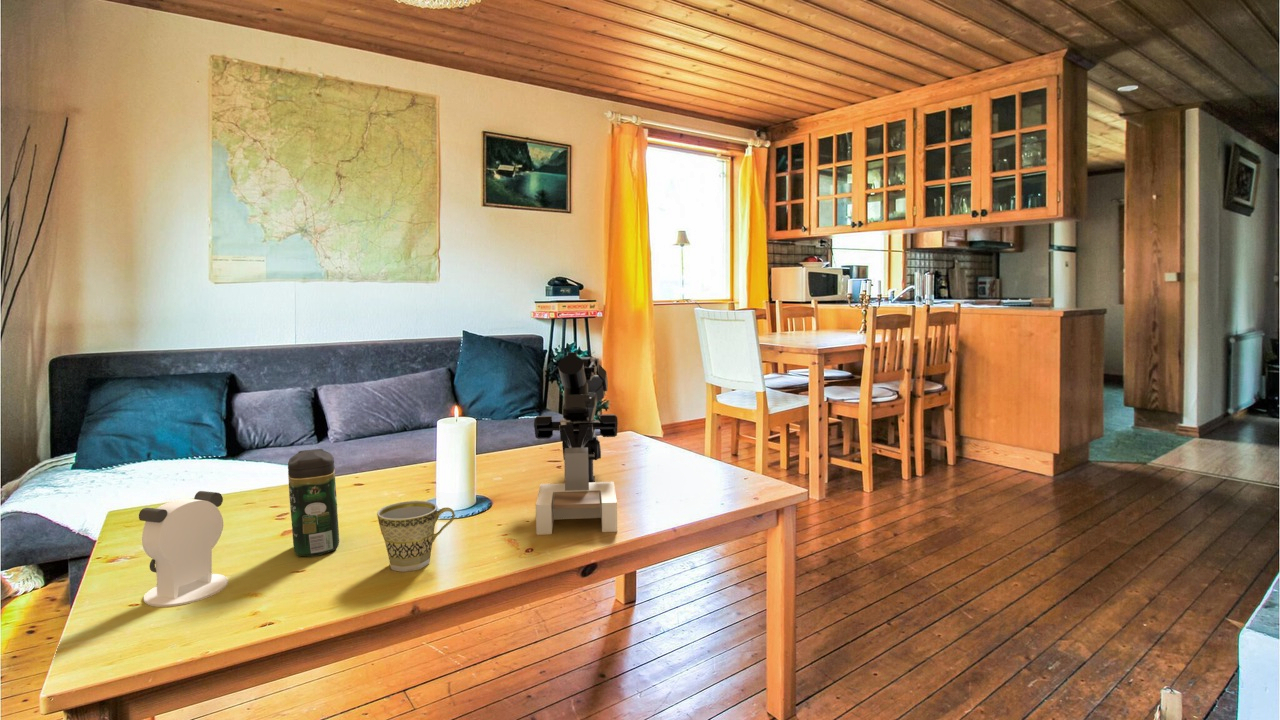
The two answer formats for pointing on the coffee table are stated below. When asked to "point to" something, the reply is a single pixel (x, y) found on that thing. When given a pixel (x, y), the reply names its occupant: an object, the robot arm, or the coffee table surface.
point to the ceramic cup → (410, 533)
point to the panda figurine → (183, 549)
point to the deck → (548, 514)
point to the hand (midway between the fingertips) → (576, 458)
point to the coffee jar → (313, 502)
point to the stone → (576, 469)
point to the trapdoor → (576, 500)
